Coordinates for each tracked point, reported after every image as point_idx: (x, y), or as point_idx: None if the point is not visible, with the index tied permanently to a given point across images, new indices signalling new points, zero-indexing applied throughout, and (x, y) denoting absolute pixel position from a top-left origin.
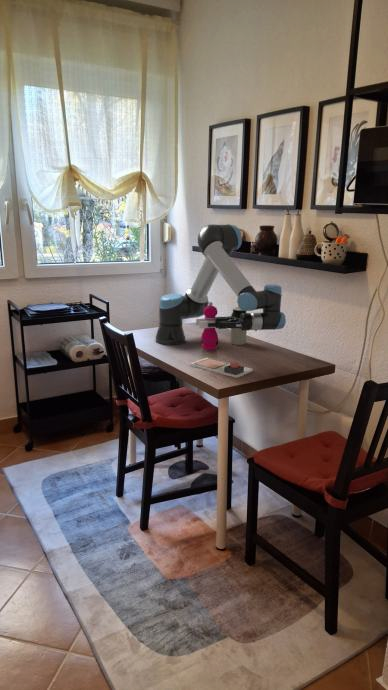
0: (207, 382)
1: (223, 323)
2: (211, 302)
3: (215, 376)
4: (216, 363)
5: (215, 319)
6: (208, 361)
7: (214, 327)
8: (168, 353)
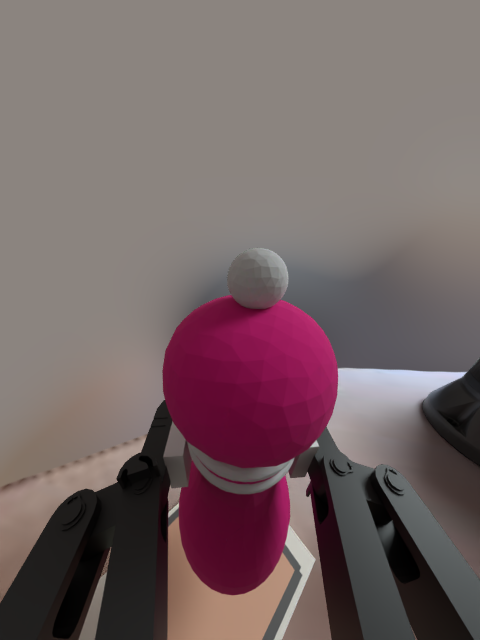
0: (49, 481)
1: (2, 605)
2: (245, 253)
3: None
4: (210, 606)
5: (208, 470)
6: None
7: (171, 482)
8: (341, 411)
